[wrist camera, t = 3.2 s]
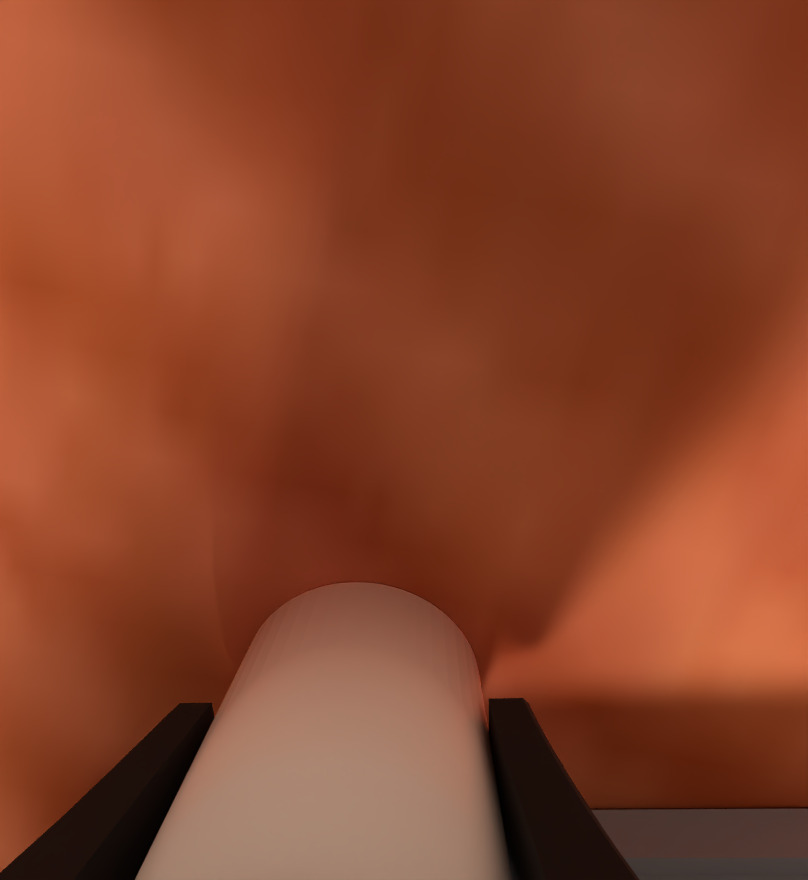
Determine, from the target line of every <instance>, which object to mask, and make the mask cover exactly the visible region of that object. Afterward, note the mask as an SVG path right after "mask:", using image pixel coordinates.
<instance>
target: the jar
mask: <svg viewBox="0 0 808 880" xmlns="http://www.w3.org/2000/svg"><path fill="white" fill-rule="evenodd" d="M135 880H512V874H511V867H510V861H509V855H508V849H507V843H506V836H505V830H504V824H503V818H502V812H501V806H500V799H499V793H498V787H497V781H496V775H495V768H494V762H493V756H492V750H491V744H490V738H489V731H488V725H487V719H486V713H485V707H484V700H483V694H482V688H481V682H480V676H479V670H478V666H477V662H476V658H475V656H474V653H473V651H472V648H471V646H470V644H469V642H468V641H467V639H466V638H465V636H464V634H463V633H462V632H461V630H460V629H459V628H458V627H457V625H456V624H455V623H454V622H453V621H452V620H451V619H450V618H449V617H448V616H447V615H446V614H445V613H444V612H442V611H441V610H440V609H438V608H437V607H435V606H434V605H433V604H431V603H430V602H428V601H426V600H424V599H422V598H420V597H419V596H417V595H415V594H412V593H409V592H407V591H404V590H402V589H399V588H395V587H391V586H387V585H382V584H376V583H367V582H347V583H336V584H331V585H326V586H322V587H318V588H315V589H313V590H310V591H307V592H304V593H302V594H300V595H298V596H296V597H294V598H292V599H291V600H289V601H288V602H286V603H285V604H283V605H282V606H280V607H279V608H278V609H277V610H276V611H275V612H273V613H272V614H271V615H270V616H269V617H268V618H267V620H266V621H265V622H264V623H263V624H262V626H261V627H260V629H259V630H258V632H257V633H256V635H255V637H254V639H253V641H252V643H251V645H250V647H249V649H248V651H247V653H246V655H245V657H244V659H243V661H242V663H241V665H240V667H239V669H238V671H237V673H236V675H235V677H234V679H233V681H232V683H231V685H230V687H229V689H228V691H227V693H226V695H225V697H224V699H223V701H222V704H221V706H220V708H219V710H218V712H217V714H216V716H215V718H214V720H213V722H212V724H211V726H210V728H209V730H208V732H207V734H206V736H205V738H204V740H203V742H202V744H201V746H200V748H199V750H198V752H197V754H196V756H195V758H194V760H193V762H192V764H191V766H190V769H189V771H188V773H187V775H186V777H185V779H184V781H183V783H182V785H181V787H180V789H179V791H178V793H177V795H176V797H175V799H174V801H173V803H172V805H171V807H170V809H169V811H168V813H167V815H166V817H165V819H164V821H163V823H162V825H161V827H160V829H159V832H158V834H157V836H156V838H155V840H154V842H153V844H152V846H151V848H150V850H149V852H148V854H147V856H146V858H145V860H144V862H143V864H142V866H141V868H140V870H139V872H138V874H137V876H136V878H135Z"/></svg>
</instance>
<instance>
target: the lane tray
mask: <svg viewBox="0 0 808 880" xmlns="http://www.w3.org/2000/svg"><path fill="white" fill-rule="evenodd" d="M591 811H592V812H593V814H594V815H595V817H596V818H597V820H598V821H599V823H600V824H601V826H602V827H603V829H604V830H605V832H606V833H607V835H608V836H609V838H610V839H611V840H612V842H613V843H614V845H615V846H616V848H617V849H618V851H619V852H620V853H621V855H622V856H623V858H624V859H625V860H626V862H627V863H628V864H629V866H630V867H631V869H632V870H633V871H634V873H635V874H636V876H637V877H638V878H639V880H808V809H642V810H591Z"/></svg>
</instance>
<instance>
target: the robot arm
mask: <svg viewBox="0 0 808 880" xmlns="http://www.w3.org/2000/svg"><path fill="white" fill-rule="evenodd" d="M214 718H215V717H214V712H213V707H212V703H180V704H179V705H178V706H177V707H176V708H175V709H173V710H172V711H171V712H170V713H169V714H168V715H167V716H166V717H165V718H164V719H163V720H162V721H161V722H160V723H159V724H158V725H157V726H156V727H155V728H154V729H153V730H152V731H151V732H150V733H149V734H148V735H147V736H146V737H145V738H144V739H143V740H142V741H141V742H140V743H138V744H137V745H136V746H135V747H134V748H133V749H132V750H131V751H130V752H129V753H128V754H127V755H126V756H125V757H124V758H123V759H122V760H121V761H120V762H119V763H118V764H117V765H116V766H115V767H114V768H113V769H112V770H111V771H110V772H109V773H108V774H107V775H106V776H105V777H104V778H103V779H102V780H100V781H99V782H98V783H97V784H96V785H95V786H94V787H93V788H92V789H91V790H90V791H89V792H88V793H87V794H86V795H85V796H84V797H83V798H82V799H81V800H80V801H78V802H77V803H76V804H75V805H74V806H73V807H72V808H71V809H70V810H69V811H68V812H67V813H66V814H65V815H64V816H63V817H62V818H61V819H59V820H58V821H57V822H56V823H55V824H54V825H53V826H52V827H51V828H49V829H48V830H47V831H46V832H45V833H44V834H43V835H42V836H41V837H39V838H38V839H37V840H36V841H35V842H34V843H33V844H32V845H31V846H29V847H28V848H27V849H26V850H25V851H24V852H23V853H22V854H21V855H19V856H18V857H17V858H16V859H15V860H14V861H13V862H12V863H11V864H9V865H8V866H7V867H6V868H5V869H4V870H3V871H2V872H1V873H0V880H135V878H136V876H137V874H138V872H139V870H140V868H141V866H142V864H143V862H144V860H145V858H146V856H147V854H148V852H149V850H150V848H151V846H152V844H153V842H154V840H155V838H156V836H157V834H158V832H159V829H160V827H161V825H162V823H163V821H164V819H165V817H166V815H167V813H168V811H169V809H170V807H171V805H172V803H173V801H174V799H175V797H176V795H177V793H178V791H179V789H180V787H181V785H182V783H183V781H184V779H185V777H186V775H187V773H188V771H189V769H190V766H191V764H192V762H193V760H194V758H195V756H196V754H197V752H198V750H199V748H200V746H201V744H202V742H203V740H204V738H205V736H206V734H207V732H208V730H209V728H210V726H211V724H212V722H213V720H214ZM489 738H490V744H491V750H492V756H493V762H494V768H495V775H496V781H497V787H498V793H499V799H500V806H501V812H502V818H503V824H504V830H505V836H506V843H507V849H508V855H509V861H510V867H511V874H512V880H639V878H638V877H637V876H636V874H635V873H634V871H633V870H632V869H631V867H630V866H629V864H628V863H627V862H626V860H625V859H624V858H623V856H622V855H621V853H620V852H619V851H618V849H617V848H616V846H615V845H614V843H613V842H612V840H611V839H610V838H609V836H608V835H607V833H606V832H605V830H604V829H603V827H602V826H601V824H600V823H599V821H598V820H597V818H596V817H595V815H594V814H593V812H592V811H591V809H590V808H589V806H588V805H587V803H586V802H585V800H584V798H583V797H582V795H581V794H580V792H579V791H578V789H577V788H576V786H575V785H574V783H573V781H572V780H571V778H570V777H569V775H568V773H567V772H566V770H565V769H564V767H563V765H562V764H561V762H560V760H559V758H558V757H557V755H556V753H555V752H554V750H553V748H552V747H551V745H550V743H549V741H548V740H547V738H546V736H545V734H544V733H543V731H542V729H541V727H540V725H539V723H538V721H537V719H536V718H535V716H534V714H533V712H532V710H531V708H530V706H529V704H528V703H527V702H526V701H525V700H524V699H523V698H503V699H489Z"/></svg>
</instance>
